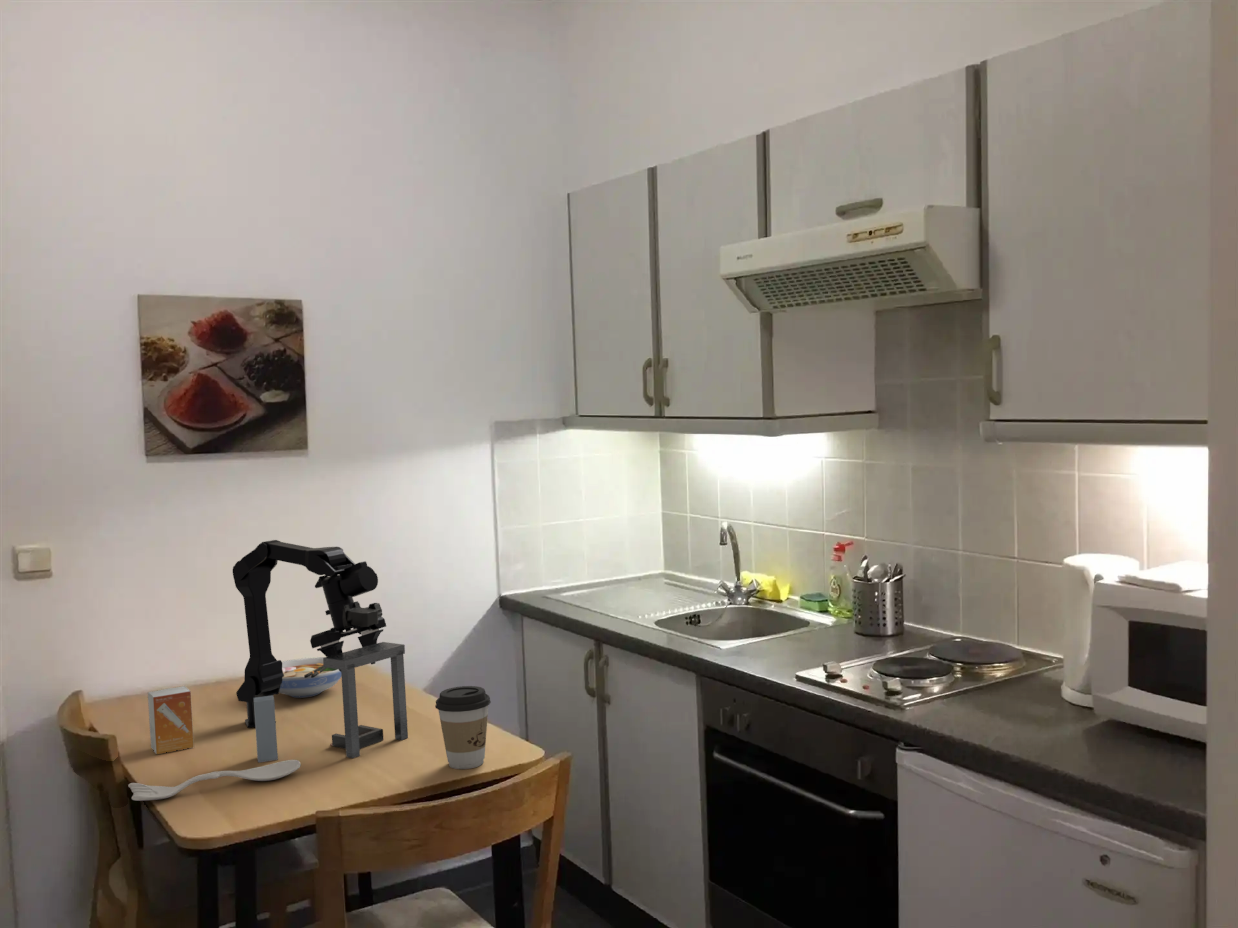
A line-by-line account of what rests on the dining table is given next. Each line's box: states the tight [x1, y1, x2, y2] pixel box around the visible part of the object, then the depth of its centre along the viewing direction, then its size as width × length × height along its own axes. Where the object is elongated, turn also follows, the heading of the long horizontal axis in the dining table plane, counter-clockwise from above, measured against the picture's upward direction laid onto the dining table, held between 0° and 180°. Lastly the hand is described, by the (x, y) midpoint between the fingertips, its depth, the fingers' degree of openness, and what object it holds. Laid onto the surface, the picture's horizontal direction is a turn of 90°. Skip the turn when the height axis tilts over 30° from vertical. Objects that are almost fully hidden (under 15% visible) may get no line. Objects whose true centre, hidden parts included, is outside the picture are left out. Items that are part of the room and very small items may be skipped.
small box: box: [147, 685, 195, 755], centre depth 245 cm, size 8×6×13 cm
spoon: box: [127, 759, 301, 802], centre depth 218 cm, size 9×32×4 cm, turn 118°
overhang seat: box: [323, 641, 409, 759], centre depth 242 cm, size 12×17×21 cm
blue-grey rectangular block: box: [254, 695, 279, 764], centre depth 235 cm, size 4×4×13 cm
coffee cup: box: [435, 685, 492, 770], centre depth 225 cm, size 11×11×15 cm
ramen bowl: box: [279, 656, 342, 699], centre depth 289 cm, size 25×23×8 cm
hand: (359, 668), depth 246 cm, fingers open, 9 cm apart
